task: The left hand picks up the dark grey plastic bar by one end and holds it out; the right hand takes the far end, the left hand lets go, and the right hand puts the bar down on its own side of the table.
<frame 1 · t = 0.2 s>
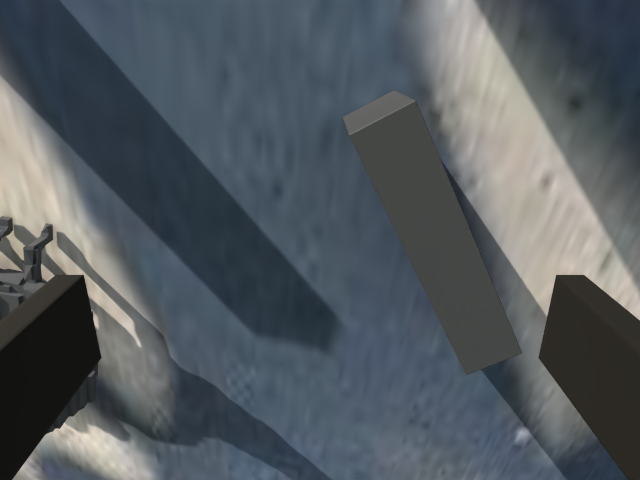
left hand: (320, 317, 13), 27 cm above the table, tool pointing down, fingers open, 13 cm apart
toy: (0, 275, 43), on the table
bar: (418, 214, 40), on the table
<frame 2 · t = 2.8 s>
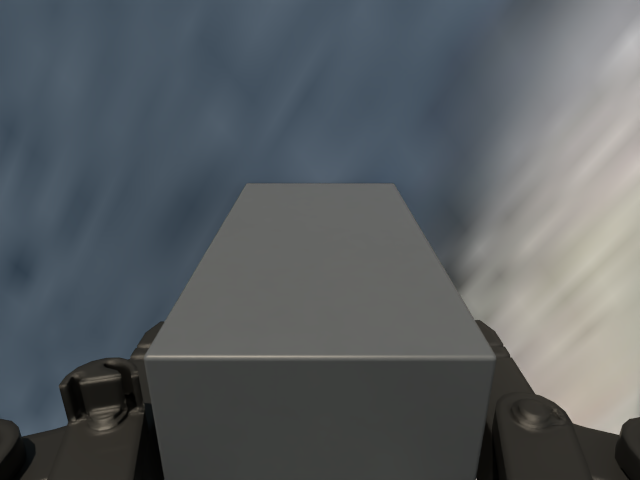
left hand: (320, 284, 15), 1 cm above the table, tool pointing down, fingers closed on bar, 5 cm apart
bar: (320, 443, 18), on the table, touching left hand
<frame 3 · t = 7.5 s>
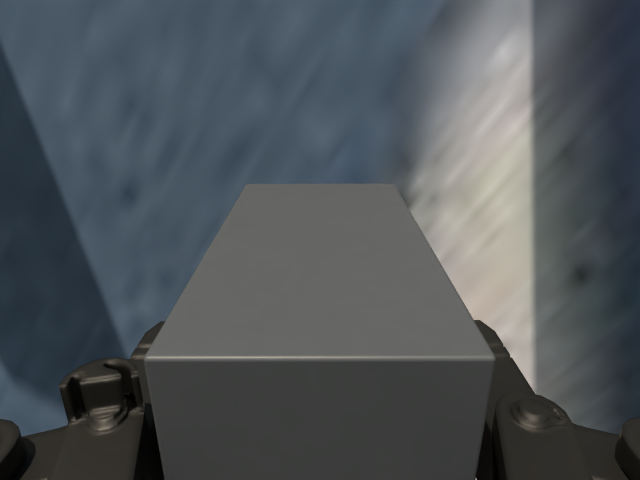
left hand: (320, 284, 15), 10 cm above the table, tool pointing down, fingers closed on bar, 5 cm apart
bar: (320, 443, 18), point 9 cm above the table, touching left hand, right hand
when the left hand's fingers open (10 cm above the table, at t = 8.0 s): bar stays where it is, held by the right hand.
when the right hand's fingers open (2 cm above the table, at t = 14.4 s): bar drops 1 cm, on the table.
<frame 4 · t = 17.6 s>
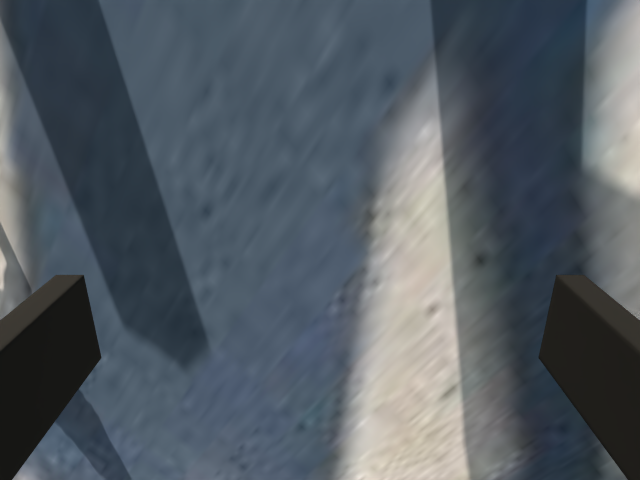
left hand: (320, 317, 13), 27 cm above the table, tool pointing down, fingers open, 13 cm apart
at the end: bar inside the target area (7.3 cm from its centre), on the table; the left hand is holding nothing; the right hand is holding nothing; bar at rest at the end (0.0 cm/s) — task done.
